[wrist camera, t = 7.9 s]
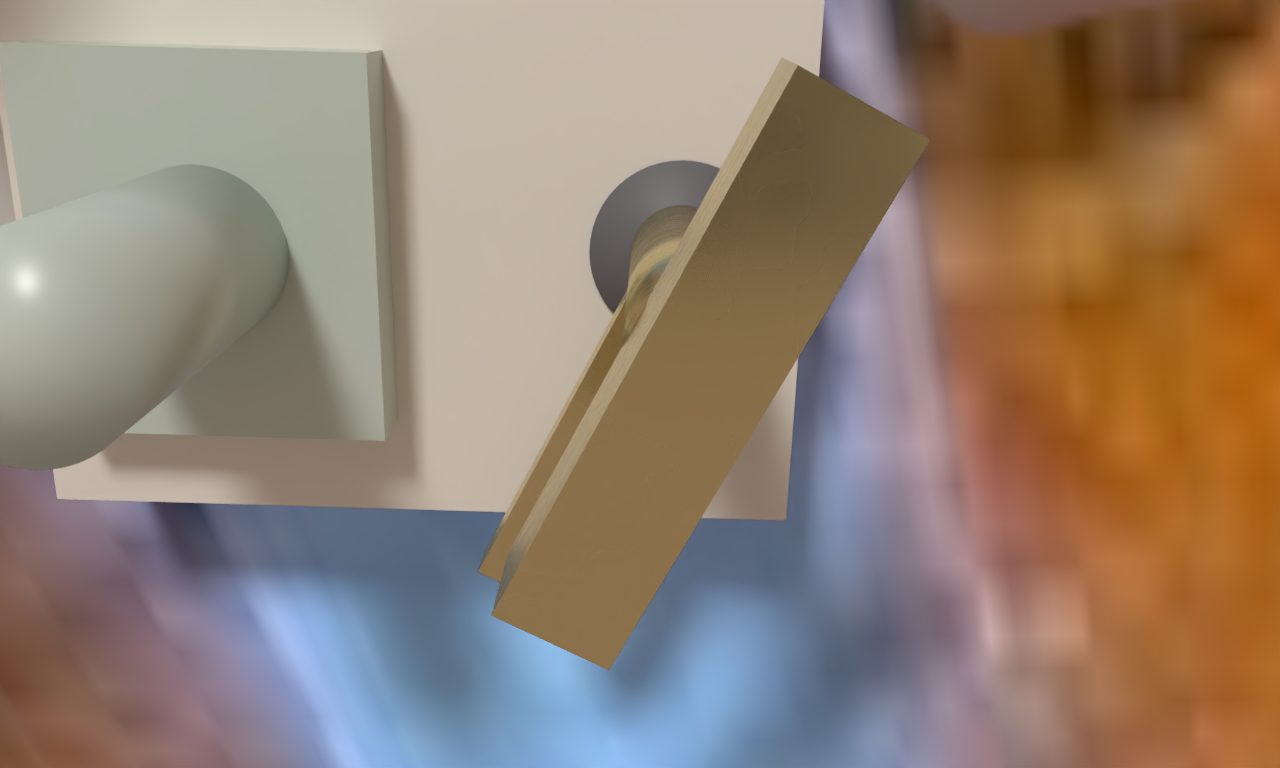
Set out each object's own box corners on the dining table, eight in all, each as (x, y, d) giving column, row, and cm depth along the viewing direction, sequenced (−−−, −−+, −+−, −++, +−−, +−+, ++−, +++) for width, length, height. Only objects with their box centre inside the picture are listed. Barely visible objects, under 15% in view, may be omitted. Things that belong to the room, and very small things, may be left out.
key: (741, 36, 26) (791, 61, 16) (833, 88, 26) (936, 143, 17) (482, 519, 30) (399, 768, 20) (565, 558, 30) (523, 822, 20)
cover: (382, 49, 26) (238, 78, 17) (398, 419, 29) (283, 608, 20) (32, 39, 26) (-293, 63, 17) (83, 410, 29) (-173, 594, 20)
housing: (806, -49, 29) (829, -56, 25) (771, 461, 34) (786, 523, 30) (60, -70, 29) (-33, -80, 25) (124, 442, 34) (54, 501, 30)
